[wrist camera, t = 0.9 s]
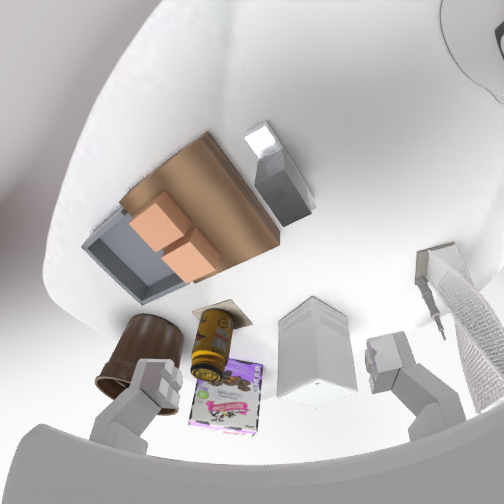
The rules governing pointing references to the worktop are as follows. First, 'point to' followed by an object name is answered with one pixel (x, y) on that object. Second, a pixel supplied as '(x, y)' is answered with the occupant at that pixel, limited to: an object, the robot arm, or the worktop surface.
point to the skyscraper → (466, 322)
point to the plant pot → (140, 353)
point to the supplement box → (315, 356)
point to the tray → (131, 259)
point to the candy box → (229, 400)
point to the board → (210, 202)
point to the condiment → (215, 339)
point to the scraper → (279, 177)
